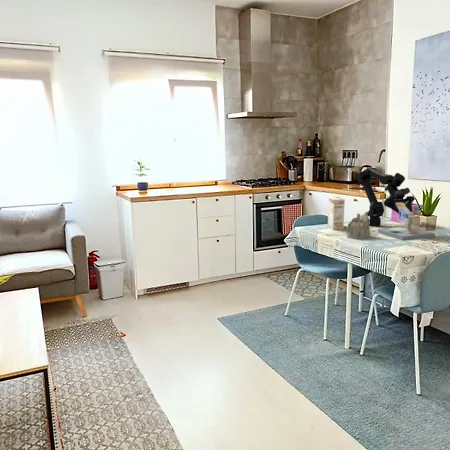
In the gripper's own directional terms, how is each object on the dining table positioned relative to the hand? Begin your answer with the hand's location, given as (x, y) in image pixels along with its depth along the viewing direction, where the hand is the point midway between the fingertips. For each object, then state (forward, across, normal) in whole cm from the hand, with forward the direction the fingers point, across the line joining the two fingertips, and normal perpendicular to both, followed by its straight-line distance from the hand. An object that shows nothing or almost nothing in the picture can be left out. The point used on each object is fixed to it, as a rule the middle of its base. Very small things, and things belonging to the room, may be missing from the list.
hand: (405, 212), depth 251 cm
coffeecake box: (-13, -27, +32) cm, 44 cm away
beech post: (+13, 0, +3) cm, 13 cm away
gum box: (-10, +25, +30) cm, 40 cm away
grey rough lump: (+5, -28, +14) cm, 32 cm away
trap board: (+10, 0, +8) cm, 13 cm away
